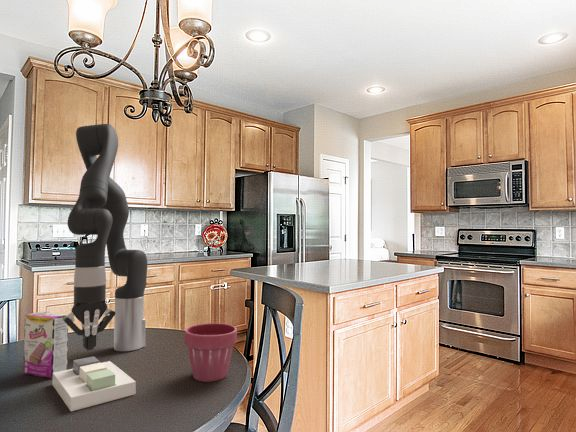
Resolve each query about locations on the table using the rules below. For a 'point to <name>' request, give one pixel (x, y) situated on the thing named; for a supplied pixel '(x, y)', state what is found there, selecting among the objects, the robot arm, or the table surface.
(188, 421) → the table surface
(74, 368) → the charcoal key
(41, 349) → the candy bar box
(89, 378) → the sage key
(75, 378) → the white slotted tray
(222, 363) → the plant pot
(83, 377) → the ivory key
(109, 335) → the table surface
